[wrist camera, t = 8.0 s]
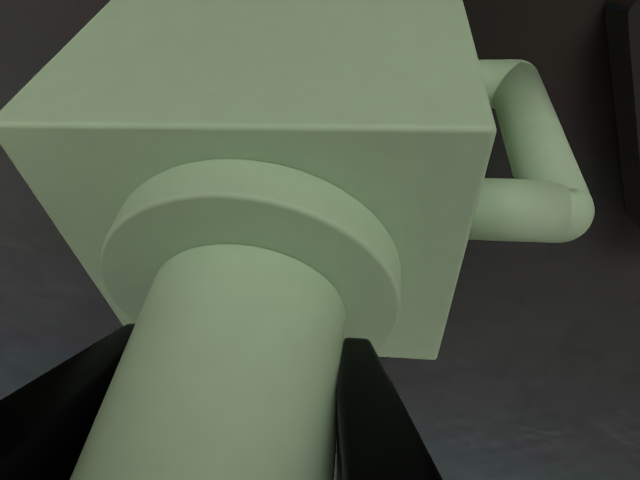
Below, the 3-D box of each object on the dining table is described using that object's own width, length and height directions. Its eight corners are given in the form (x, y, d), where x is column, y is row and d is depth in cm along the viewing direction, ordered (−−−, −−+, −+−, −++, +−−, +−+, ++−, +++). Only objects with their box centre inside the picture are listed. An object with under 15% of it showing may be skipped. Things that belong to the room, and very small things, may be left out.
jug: (499, 134, 16) (682, 818, 6) (219, 131, 17) (-18, 707, 7) (556, -77, 11) (1670, 1269, 1) (171, -63, 12) (-675, 775, 3)
